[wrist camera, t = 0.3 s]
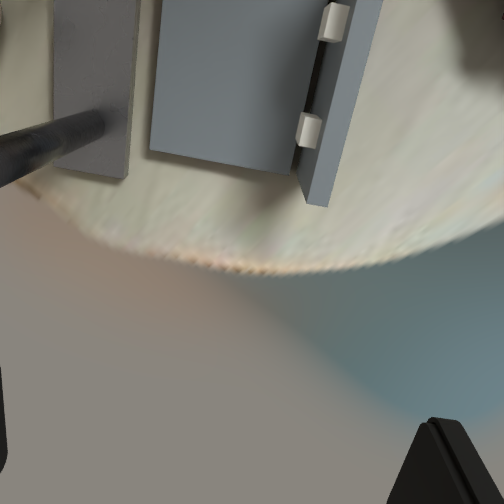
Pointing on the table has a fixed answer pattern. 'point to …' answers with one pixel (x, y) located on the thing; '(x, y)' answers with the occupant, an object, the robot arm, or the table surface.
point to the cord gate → (84, 94)
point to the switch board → (261, 83)
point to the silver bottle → (0, 13)
